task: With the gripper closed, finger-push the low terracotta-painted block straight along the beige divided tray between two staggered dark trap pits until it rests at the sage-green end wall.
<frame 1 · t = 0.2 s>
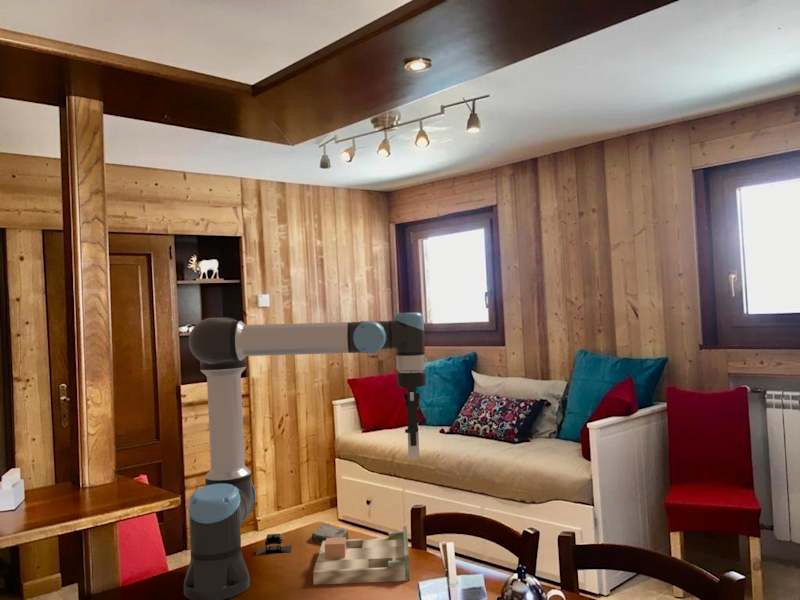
hand: (413, 452, 171), 28 cm above the table, fingers open, 13 cm apart
block: (335, 554, 168), point 3 cm above the table, touching beige divided tray
beige divided tray: (363, 565, 168), on the table
stone: (330, 541, 188), on the table
black bracket on plate: (273, 552, 181), on the table
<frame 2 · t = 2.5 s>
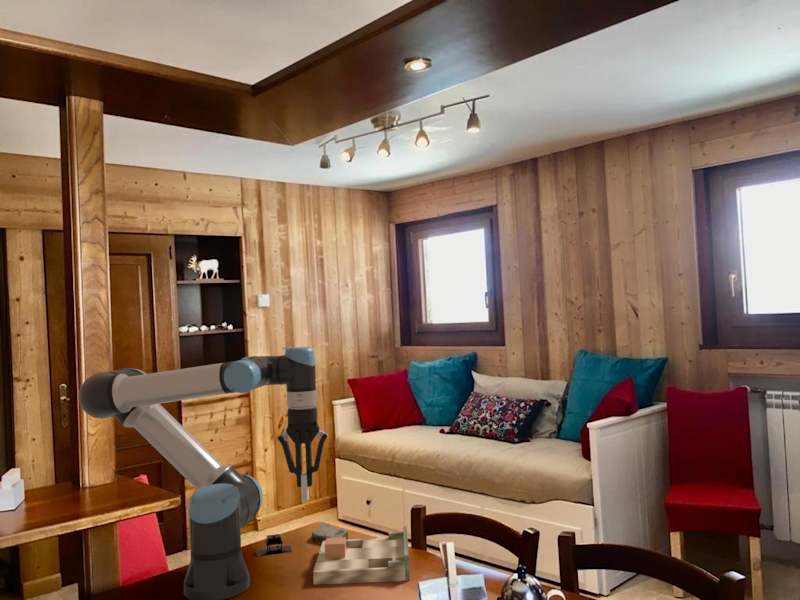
hand: (305, 499, 168), 17 cm above the table, fingers closed
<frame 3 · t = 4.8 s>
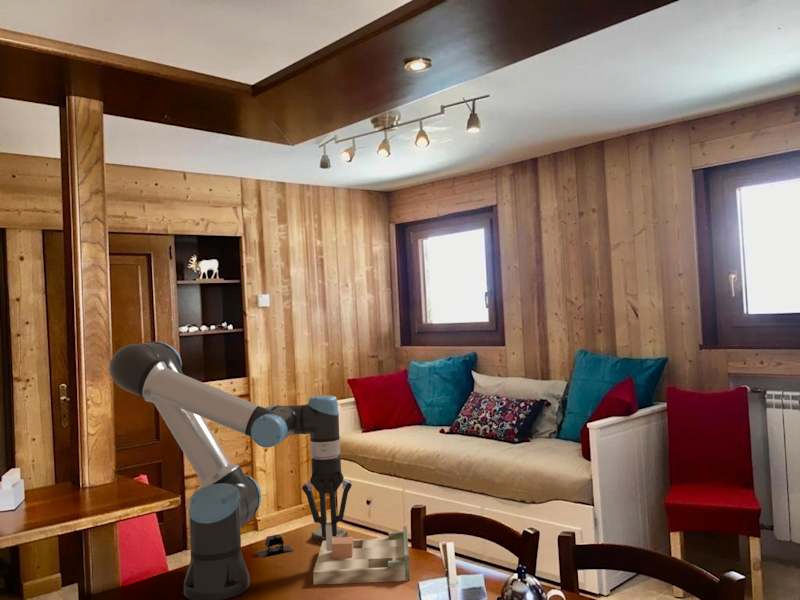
hand: (330, 548, 168), 5 cm above the table, fingers closed
block: (343, 554, 168), point 3 cm above the table, touching gripper
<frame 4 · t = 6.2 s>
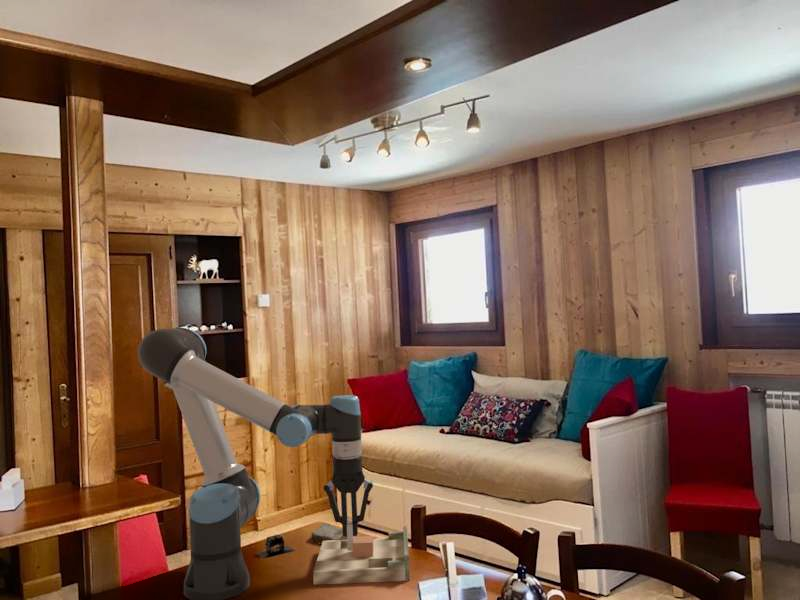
hand: (350, 548, 168), 4 cm above the table, fingers closed
block: (363, 553, 168), point 3 cm above the table, touching gripper
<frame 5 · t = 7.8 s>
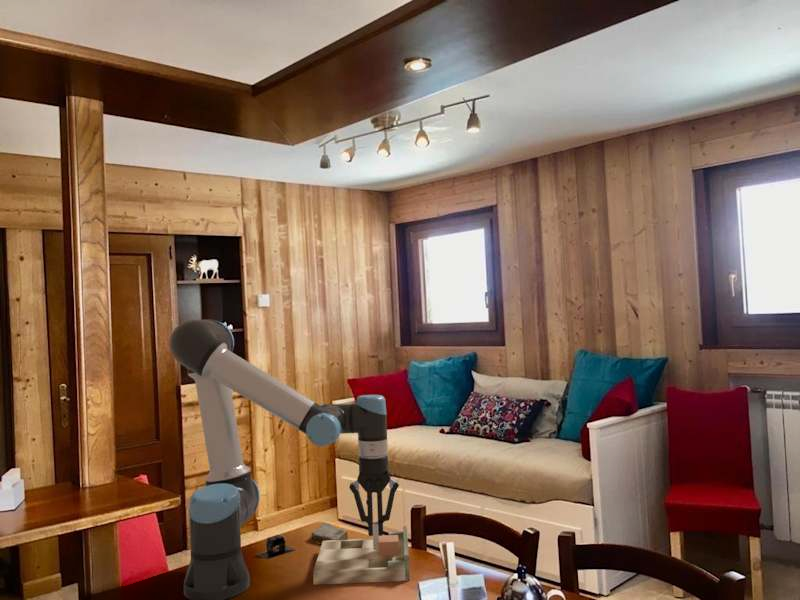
hand: (376, 548, 168), 4 cm above the table, fingers closed
block: (388, 552, 168), point 3 cm above the table, touching beige divided tray, gripper
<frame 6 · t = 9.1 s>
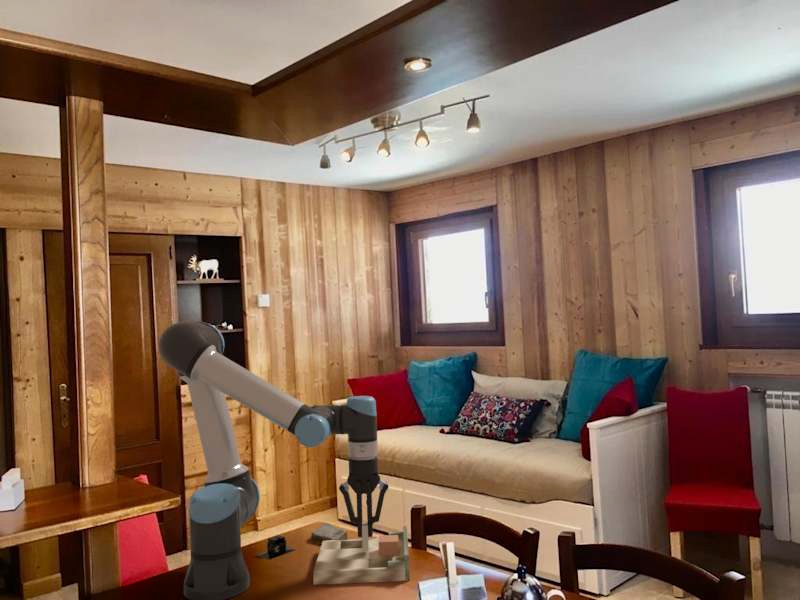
hand: (365, 549, 168), 4 cm above the table, fingers closed
block: (388, 552, 168), point 3 cm above the table, touching beige divided tray
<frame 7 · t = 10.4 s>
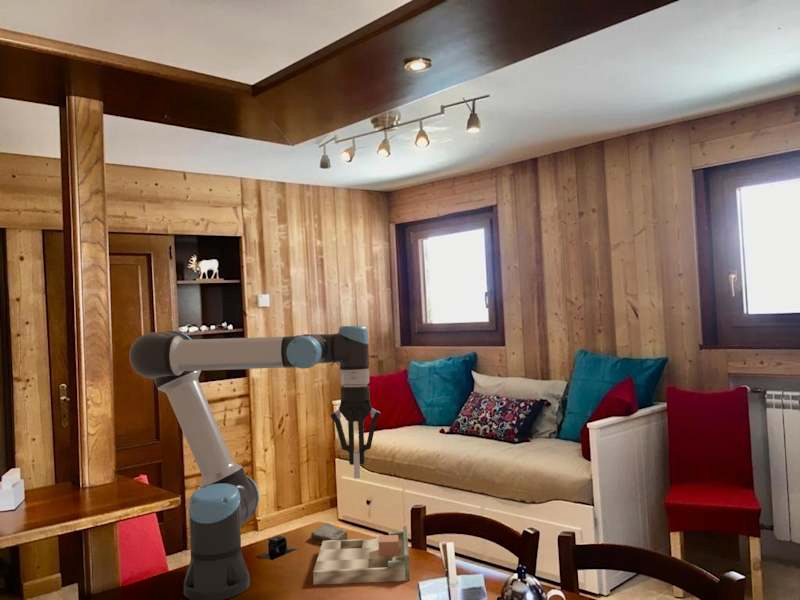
hand: (357, 477, 169), 22 cm above the table, fingers closed
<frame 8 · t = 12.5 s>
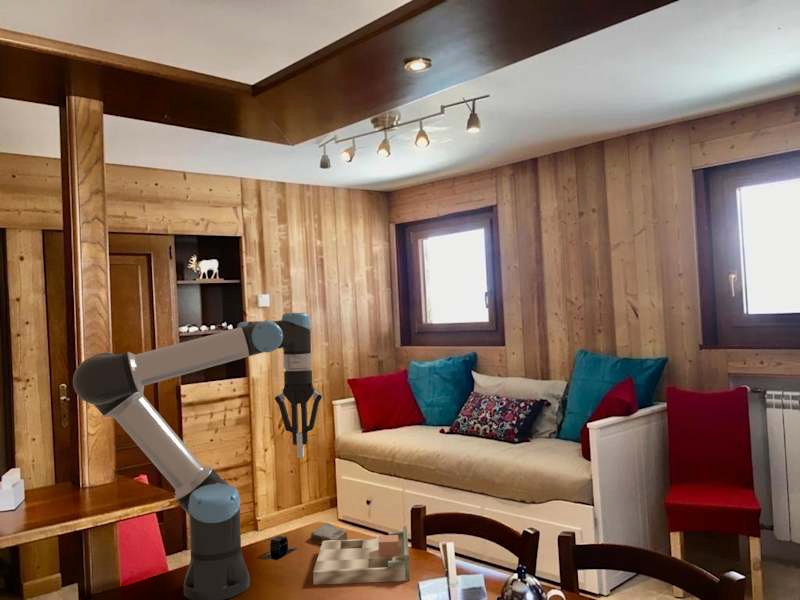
hand: (300, 456, 177), 26 cm above the table, fingers closed
at the end: block inside the target area (1.7 cm from its centre), point 3.0 cm above the table; block tilted 0° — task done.
